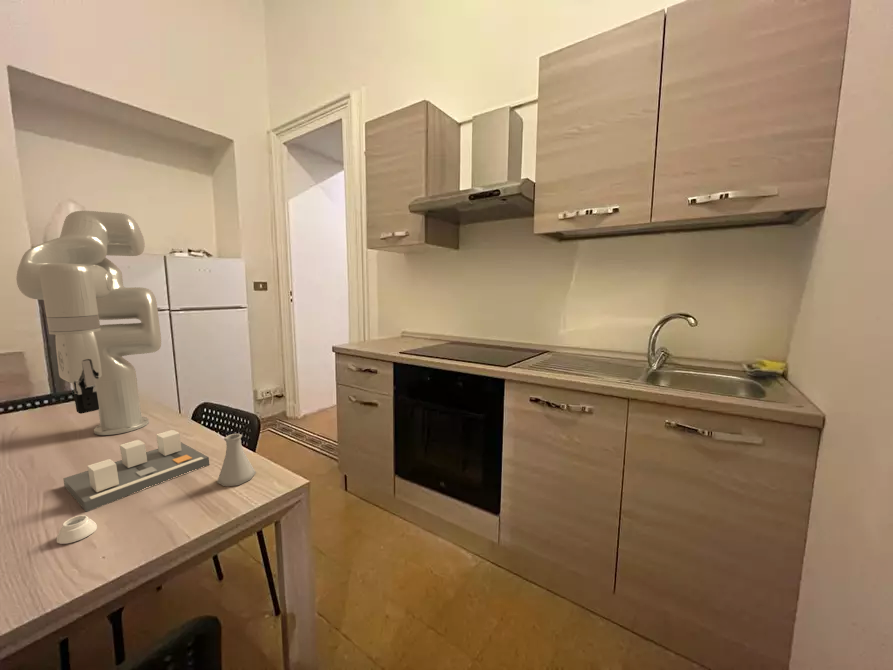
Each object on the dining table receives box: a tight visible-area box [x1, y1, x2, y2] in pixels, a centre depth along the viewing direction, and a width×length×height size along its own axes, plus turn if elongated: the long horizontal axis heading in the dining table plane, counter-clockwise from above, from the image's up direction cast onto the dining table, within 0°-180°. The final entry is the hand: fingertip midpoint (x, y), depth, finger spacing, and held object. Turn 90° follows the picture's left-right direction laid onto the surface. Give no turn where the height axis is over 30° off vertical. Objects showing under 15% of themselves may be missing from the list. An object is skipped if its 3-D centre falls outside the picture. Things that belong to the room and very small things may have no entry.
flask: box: [216, 433, 257, 487], centre depth 83 cm, size 7×7×10 cm
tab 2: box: [119, 439, 147, 468], centre depth 86 cm, size 4×4×4 cm
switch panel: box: [63, 441, 210, 512], centre depth 85 cm, size 16×22×2 cm
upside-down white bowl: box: [56, 514, 98, 545], centre depth 65 cm, size 5×3×5 cm
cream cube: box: [155, 429, 182, 456], centre depth 92 cm, size 4×4×4 cm
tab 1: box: [87, 458, 119, 492], centre depth 76 cm, size 4×4×4 cm
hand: (88, 410), depth 79 cm, fingers closed
